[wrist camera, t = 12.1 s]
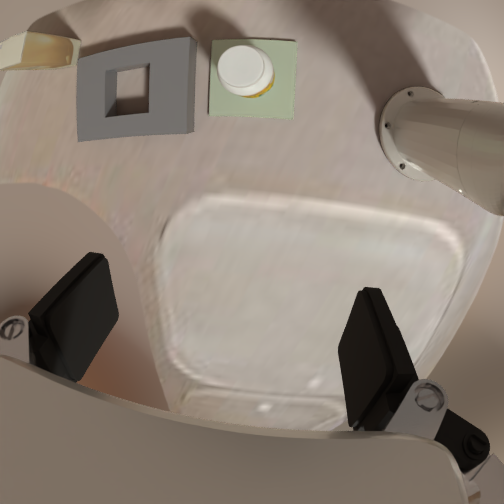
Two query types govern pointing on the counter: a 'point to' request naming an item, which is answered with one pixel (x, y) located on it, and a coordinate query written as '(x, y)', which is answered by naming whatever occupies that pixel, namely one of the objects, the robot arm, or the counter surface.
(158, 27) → the counter surface
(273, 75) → the supplement bottle
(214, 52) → the rubber mat
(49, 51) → the skincare box
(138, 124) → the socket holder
